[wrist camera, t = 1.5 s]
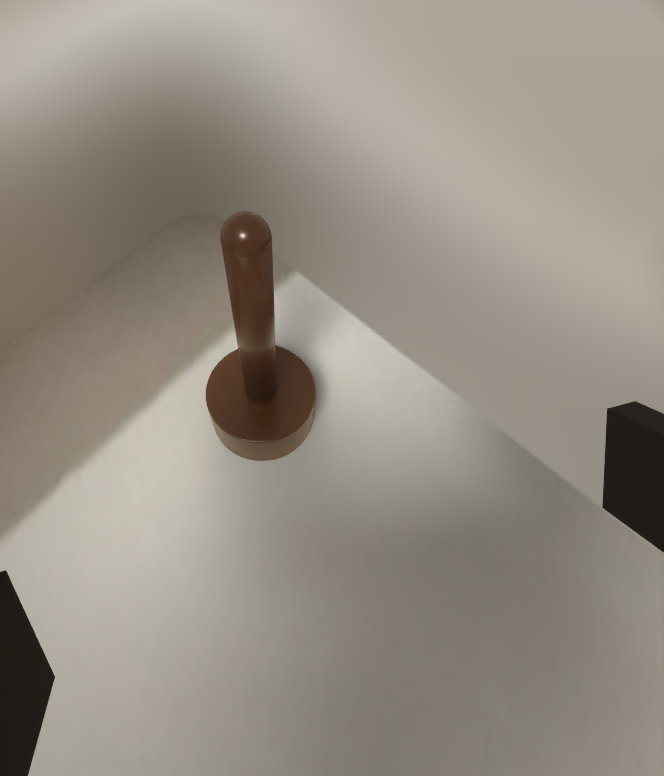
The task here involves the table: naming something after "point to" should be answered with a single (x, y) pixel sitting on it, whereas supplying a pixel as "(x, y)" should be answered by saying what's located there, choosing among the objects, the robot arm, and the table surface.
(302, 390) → the wooden peg stand
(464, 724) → the table surface
